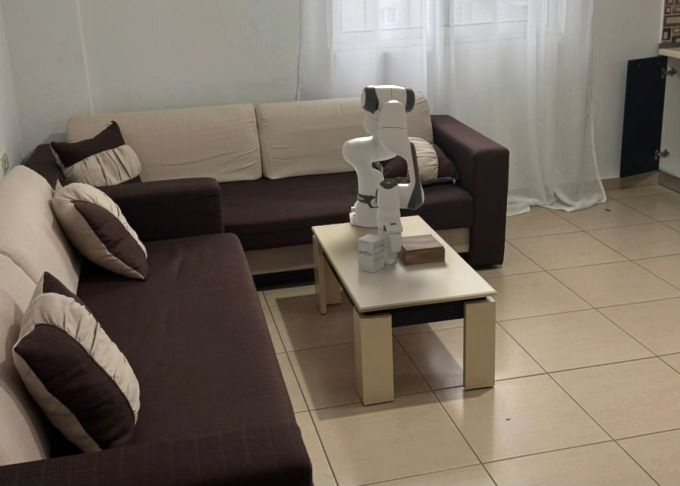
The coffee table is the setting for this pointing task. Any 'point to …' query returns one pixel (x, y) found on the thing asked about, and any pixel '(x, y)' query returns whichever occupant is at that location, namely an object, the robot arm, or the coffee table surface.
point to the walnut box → (421, 250)
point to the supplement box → (371, 253)
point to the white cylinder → (386, 256)
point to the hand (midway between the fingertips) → (388, 255)
